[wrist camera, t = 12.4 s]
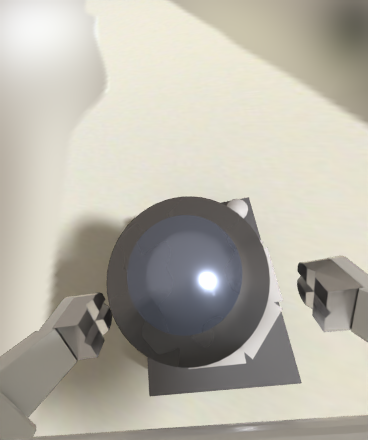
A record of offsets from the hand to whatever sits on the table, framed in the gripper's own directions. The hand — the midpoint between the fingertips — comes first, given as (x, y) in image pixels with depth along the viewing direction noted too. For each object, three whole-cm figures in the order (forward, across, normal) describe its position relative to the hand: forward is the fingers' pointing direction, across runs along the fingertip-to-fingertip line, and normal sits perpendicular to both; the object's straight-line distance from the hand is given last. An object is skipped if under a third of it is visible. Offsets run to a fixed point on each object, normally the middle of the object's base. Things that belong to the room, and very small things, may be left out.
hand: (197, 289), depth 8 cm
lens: (+5, 0, +4) cm, 6 cm away
